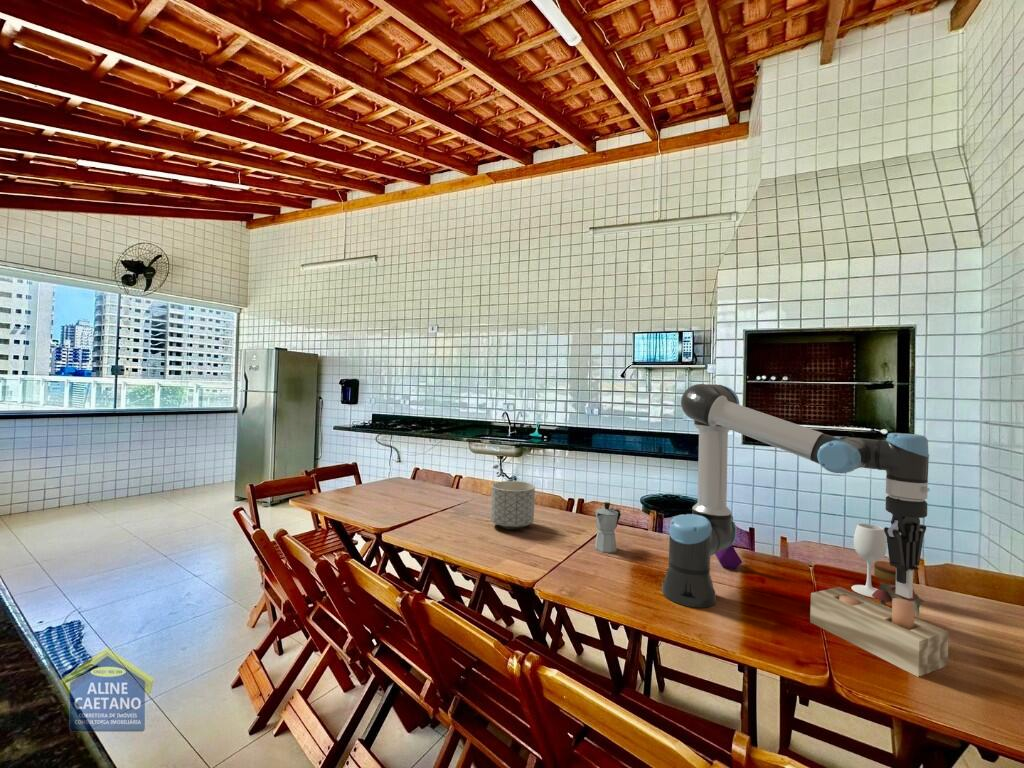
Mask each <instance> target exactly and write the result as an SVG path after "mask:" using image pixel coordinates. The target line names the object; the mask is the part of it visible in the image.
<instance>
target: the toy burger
mask: <svg viewBox="0 0 1024 768" xmlns="http://www.w3.org/2000/svg"><path fill="white" fill-rule="evenodd" d="M873 565H874V567H873V568H874V570H873V573H874V574H873V575H874V576H875V577H876V578H878V579H880V580H883V581H886V582H889V583H883V582H879V584H878V585H879V588H878V590H876V591H875V592H874V593H873V594H872V596H873V597H875V598H874V599H878V602H880V604H883V605H885V606H887V607H888V605H887V604H891V605H892V599H893V598H900V599H904V600H907V601H910V602H912V603H913V604H914V605H915V606H914V615H916V616H917V619H920V607H921V605H922V604H923V603H924V602H925V600H923V599H921V597H920V596H919V594H916V593H915V591H914V589H913V598H906V597H903V596H901V595H898V594H895V592H896V567H894V566H891V565H890V561H884V560H883V561H882V560H879V561H875V562H874V563H873ZM891 583H894V584H891Z"/></svg>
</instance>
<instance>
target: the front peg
mask: <svg viewBox="0 0 1024 768" xmlns="http://www.w3.org/2000/svg"><path fill="white" fill-rule="evenodd" d="M914 606H915V605H914V604H913V603H912V602H910V601H907V600H904V599H900V598H893V599H892V604H891V608H892V623H894V624H896V625H898V626H901V627H903V628H905V629H908V630H912V629H914V618H915V613H914Z"/></svg>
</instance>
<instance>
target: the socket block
mask: <svg viewBox="0 0 1024 768" xmlns="http://www.w3.org/2000/svg"><path fill="white" fill-rule="evenodd" d="M841 595H844V596H849V597H853V598H855V599H857V600H858V605H854V606H852V605H850V604H848V603H846V602H843V601H841V600H839V596H841ZM809 610H810V611H809V615H810V617H809V622H810V623H811V624H812V625H815V626H817V627H818V628H820V629H823V630H825V631H827V632H829V633H830V634H833V635H834V636H837V637H838V638H841V639H842V640H845V641H846V642H848V643H850V644H852V645H854V646H856V647H859V648H860V649H862V650H864V651H866V652H867V653H869V654H872V655H874V656H875V657H878V658H880V659H881V660H883V661H886V662H888V663H890V664H892V665H894V666H896V667H898V668H899V669H901V670H903V671H905V672H907V673H909V674H911V675H914V676H915V677H917V678H920V677H923V676H925V675H928V674H931V673H933V672H935V671H938V670H940V669H943V668H946V667H948V665H949V663H948V662H949V631H948V630H947V629H943V628H941V627H938V626H936V625H934V624H931V623H929V622H927V621H925V620H921V619H920V618H918V617H917V618H916V617H914V629H912V630H908V629H905V628H903V627H901V626H898V625H896V624H894V623H892V607H889V606H888V605H887V606H885V605H883V604H881V602H879V601H878V602H877V601H876V600H872V599H870V598H868V597H866V596H864V595H861V594H859V593H857V592H854V591H851V590H848V589H846V588H843V587H841V586H835V587H832V588H828V589H823V590H818V591H814V592H811V593H810V609H809ZM932 671H933V672H932ZM919 676H920V677H919Z"/></svg>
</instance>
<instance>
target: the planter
mask: <svg viewBox="0 0 1024 768" xmlns="http://www.w3.org/2000/svg"><path fill="white" fill-rule="evenodd" d="M535 490H536V487H535V485H534V484H532V483H530V482H527V481H518V480H504V481H496V482H494V483H492V484H491V503H490V504H491V505H490V521H491V522H492V523H494V524H495V525H498V526H499V527H500V528H503V529H506V530H520V529H523V528H525V527H526V526H529V525H531V524H534V520H535Z"/></svg>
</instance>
